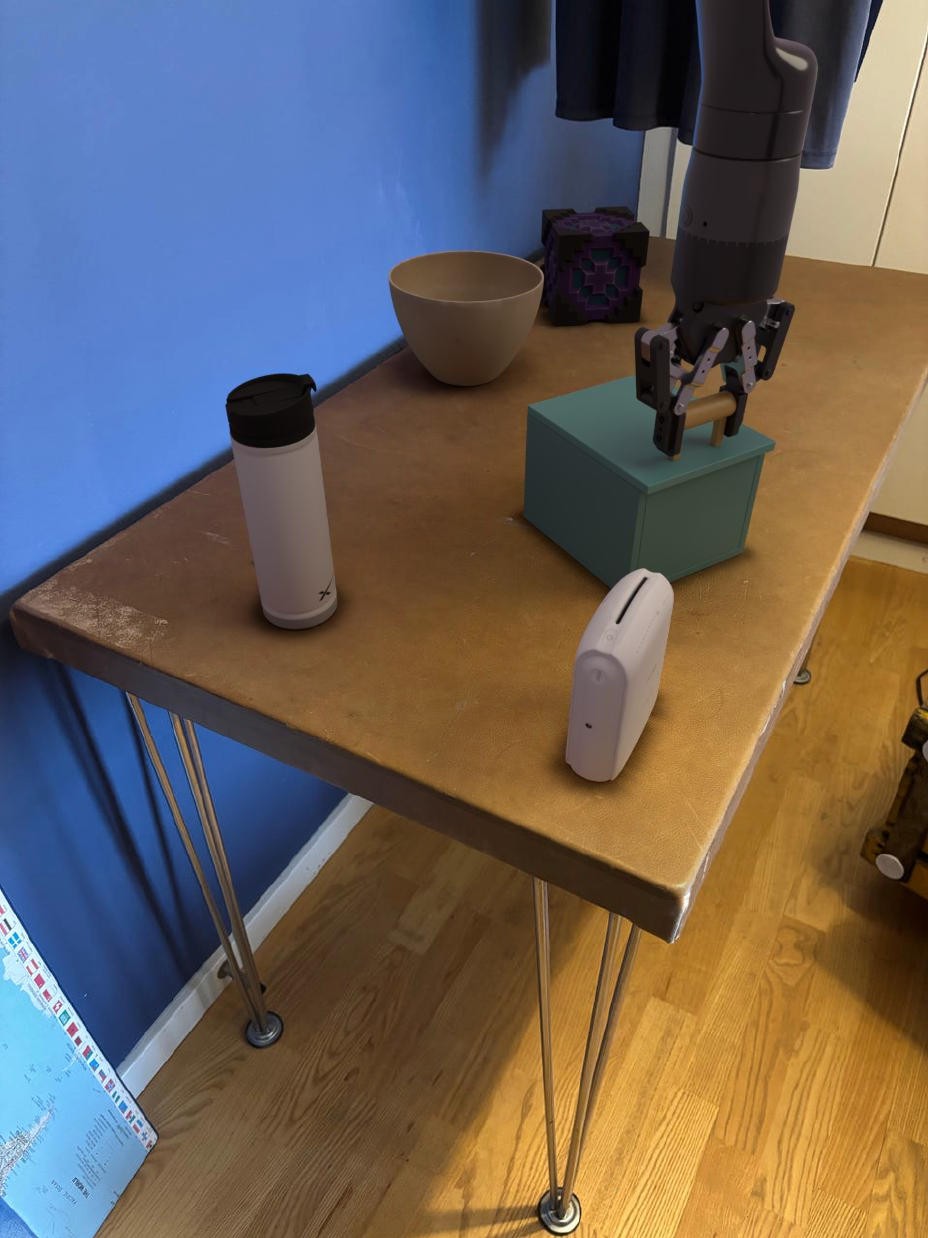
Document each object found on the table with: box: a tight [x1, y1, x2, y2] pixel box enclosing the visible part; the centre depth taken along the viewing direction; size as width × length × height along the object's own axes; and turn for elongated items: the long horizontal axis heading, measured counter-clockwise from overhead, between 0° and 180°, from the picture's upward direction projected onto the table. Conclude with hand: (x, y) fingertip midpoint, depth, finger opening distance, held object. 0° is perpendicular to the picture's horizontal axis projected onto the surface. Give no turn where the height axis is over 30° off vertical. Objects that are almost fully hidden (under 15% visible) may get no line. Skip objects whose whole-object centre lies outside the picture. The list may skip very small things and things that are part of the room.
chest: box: [522, 413, 766, 590], centre depth 82 cm, size 16×14×11 cm
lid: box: [526, 373, 777, 495], centre depth 76 cm, size 16×14×5 cm
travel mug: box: [224, 372, 339, 630], centre depth 71 cm, size 6×7×20 cm
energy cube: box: [539, 205, 651, 327], centre depth 126 cm, size 12×12×12 cm
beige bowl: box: [388, 250, 544, 387], centre depth 110 cm, size 18×18×12 cm
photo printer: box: [565, 569, 675, 783], centre depth 61 cm, size 10×4×12 cm, turn 152°
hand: (696, 441), depth 73 cm, fingers closed on lid, 5 cm apart
